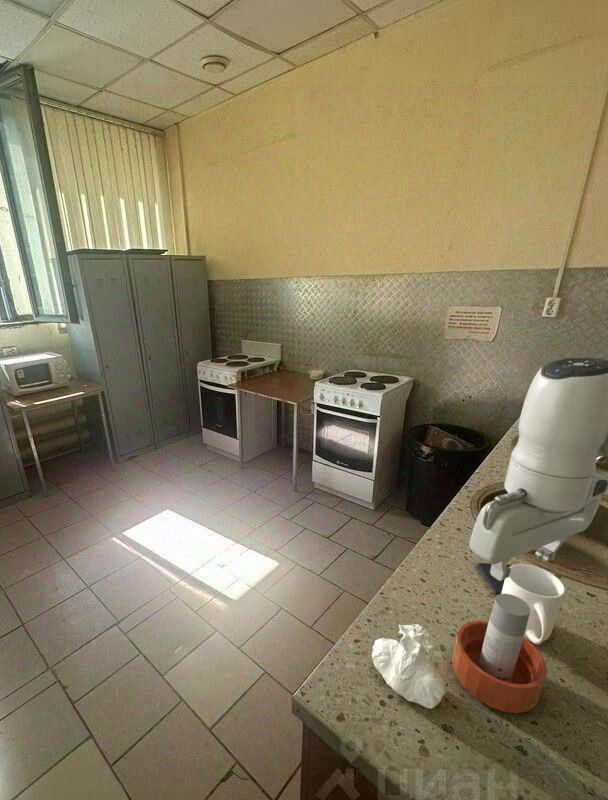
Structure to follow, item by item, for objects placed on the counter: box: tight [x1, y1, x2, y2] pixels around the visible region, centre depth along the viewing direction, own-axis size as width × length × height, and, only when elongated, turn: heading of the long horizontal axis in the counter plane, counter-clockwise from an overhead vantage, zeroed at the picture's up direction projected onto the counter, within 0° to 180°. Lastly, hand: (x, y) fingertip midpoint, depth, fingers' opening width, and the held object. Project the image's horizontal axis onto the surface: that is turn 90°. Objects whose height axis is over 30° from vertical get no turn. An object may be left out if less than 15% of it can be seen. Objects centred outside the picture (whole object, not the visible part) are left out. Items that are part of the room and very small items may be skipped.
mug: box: [501, 563, 566, 646], centre depth 71 cm, size 9×12×11 cm
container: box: [478, 594, 530, 683], centre depth 62 cm, size 5×5×15 cm
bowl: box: [451, 619, 548, 714], centre depth 64 cm, size 12×12×6 cm
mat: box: [477, 562, 513, 596], centre depth 85 cm, size 9×9×1 cm
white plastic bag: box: [371, 623, 447, 710], centre depth 63 cm, size 12×8×11 cm
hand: (521, 567), depth 57 cm, fingers open, 8 cm apart
